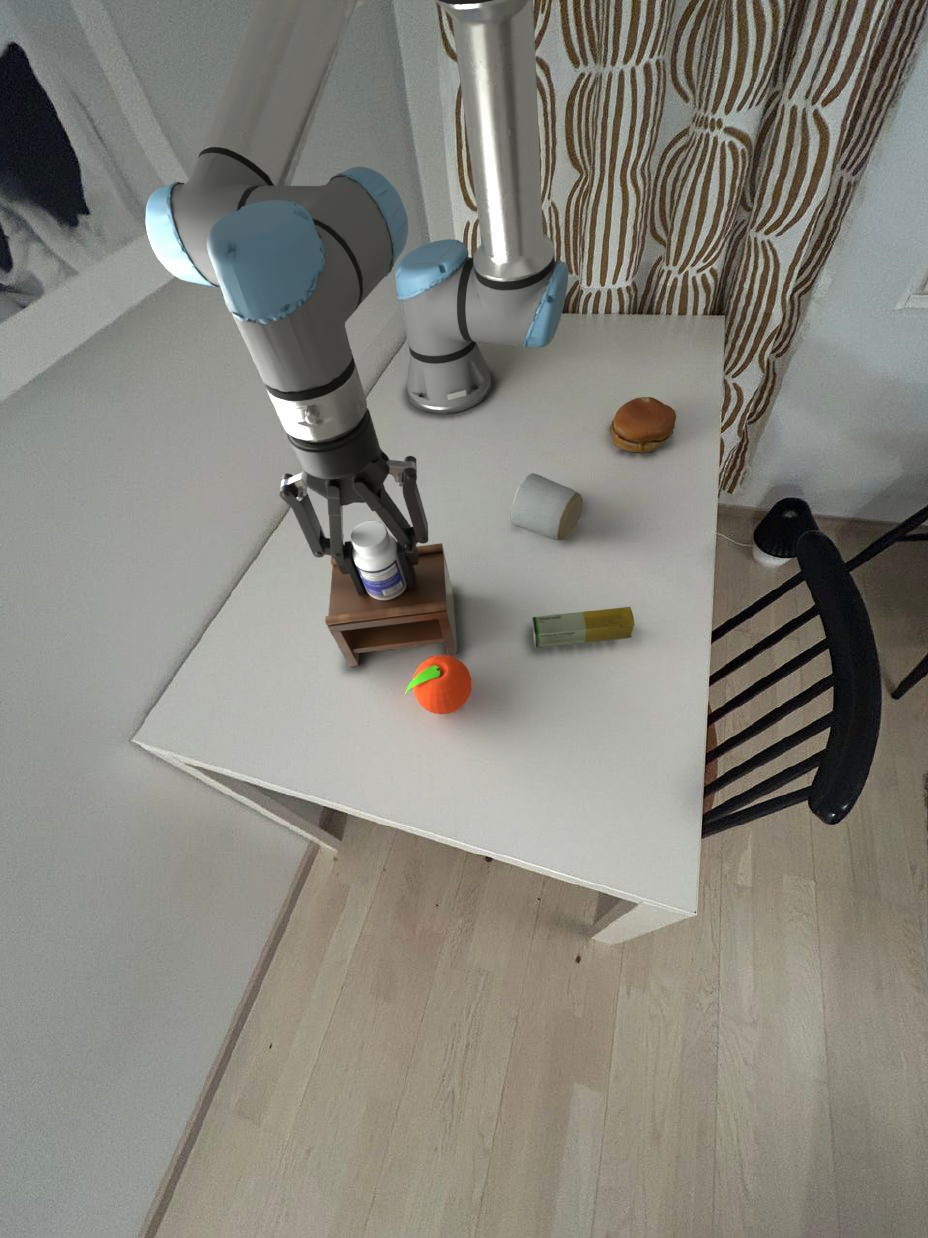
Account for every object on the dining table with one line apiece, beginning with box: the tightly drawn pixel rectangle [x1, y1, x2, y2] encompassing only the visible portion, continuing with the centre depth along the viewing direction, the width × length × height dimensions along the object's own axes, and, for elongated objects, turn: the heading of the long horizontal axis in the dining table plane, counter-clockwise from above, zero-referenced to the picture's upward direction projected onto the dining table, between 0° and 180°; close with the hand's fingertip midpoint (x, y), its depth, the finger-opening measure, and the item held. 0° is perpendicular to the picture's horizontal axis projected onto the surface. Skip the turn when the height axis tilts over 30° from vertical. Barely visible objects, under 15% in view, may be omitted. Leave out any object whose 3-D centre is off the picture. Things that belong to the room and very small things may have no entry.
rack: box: [324, 542, 458, 667], centre depth 73 cm, size 10×14×10 cm
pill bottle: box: [350, 520, 407, 600], centre depth 66 cm, size 5×5×9 cm
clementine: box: [404, 654, 473, 715], centre depth 68 cm, size 8×7×7 cm
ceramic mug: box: [510, 473, 584, 541], centre depth 82 cm, size 11×8×8 cm
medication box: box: [531, 606, 635, 649], centre depth 72 cm, size 12×3×4 cm, turn 92°
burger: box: [610, 396, 677, 454], centre depth 92 cm, size 10×9×5 cm
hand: (386, 582), depth 70 cm, fingers closed on pill bottle, 5 cm apart
